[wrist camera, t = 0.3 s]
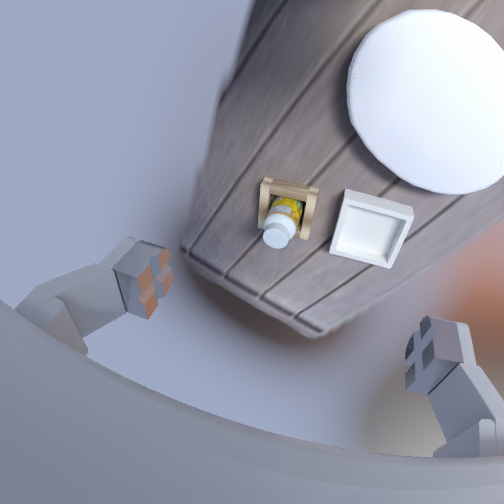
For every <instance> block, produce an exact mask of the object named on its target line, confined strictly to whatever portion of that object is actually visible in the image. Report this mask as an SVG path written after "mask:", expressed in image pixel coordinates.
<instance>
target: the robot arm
mask: <svg viewBox="0 0 504 504" xmlns="http://www.w3.org/2000/svg"><path fill="white" fill-rule="evenodd" d="M170 259H171V258H170V251H169V250H168V249H167V248H165V247H161V246H158V245H155V244H152V243H148V242H145V241H142V240H138V239H135V238H132V237H128V238H125V239H124V240H123V241H122V242H121V243H120V244H119V245H118V246H117V247H116V248H115V249H114V250H113V251H112V252H111V253H109V254H108V255H107V257H105V258H104V259H103V260H102V262H100V263H99V264H92V265H90V266H87V267H84V268H81V269H79V270H76V271H73V272H71V273H68V274H65V275H63V276H60V277H58V278H55V279H52V280H50V281H47V282H45V283H42V284H40V285H37V286H36V287H35V288H34V289H33V290H32V291H31V292H30V293H29V294H28V295H27V296H26V298H25V299H24V300H23V301H22V302H21V303H20V304H19V305H18V306H17V307H16V308H15V310H13V309H12V308H11V307H10V306H8V305H7V304H6V303H4V302H3V301H2V300H0V504H504V402H503V400H502V399H501V397H500V395H499V394H498V392H497V391H496V389H495V388H494V386H493V385H492V384H491V382H490V380H489V379H488V378H487V376H486V375H485V373H484V372H483V370H482V369H481V367H480V366H476V361H475V356H474V350H473V345H472V340H471V336H470V332H469V327H468V326H467V324H464V323H460V322H455V321H449V320H445V319H440V318H435V317H431V316H426V317H424V318H423V320H422V321H421V322H420V330H418V331H416V332H414V333H413V334H412V337H411V338H410V339H409V342H408V344H407V347H406V353H405V362H406V363H407V365H408V366H409V369H408V371H407V372H406V373H405V391H408V392H413V393H419V394H424V395H428V396H427V397H428V399H429V402H430V404H431V406H432V408H433V410H434V412H435V415H436V417H437V419H438V422H439V424H440V426H441V429H442V431H443V434H444V436H445V438H446V441H447V443H446V444H444V445H443V446H441V447H439V448H438V449H437V450H435V451H434V452H433V458H430V457H411V456H399V455H388V454H379V453H371V452H364V451H357V450H350V449H344V448H338V447H333V446H327V445H322V444H317V443H313V442H308V441H303V440H299V439H295V438H291V437H286V436H283V435H278V434H275V433H271V432H267V431H264V430H261V429H257V428H254V427H250V426H247V425H244V424H241V423H237V422H234V421H231V420H228V419H225V418H222V417H219V416H216V415H214V414H211V413H208V412H205V411H203V410H200V409H197V408H195V407H192V406H189V405H187V404H184V403H182V402H179V401H177V400H174V399H172V398H169V397H167V396H165V395H163V394H160V393H158V392H156V391H153V390H151V389H149V388H147V387H145V386H142V385H140V384H138V383H136V382H134V381H132V380H130V379H128V378H125V377H124V376H122V375H120V374H118V373H116V372H114V371H112V370H110V369H108V368H106V367H104V366H102V365H101V364H99V363H97V362H95V361H93V360H91V359H90V358H88V357H86V355H87V353H88V348H87V346H86V344H85V343H84V341H83V339H82V338H83V337H85V336H87V335H89V334H90V333H92V332H94V331H96V330H97V329H99V328H101V327H103V326H104V325H106V324H108V323H109V322H111V321H113V320H115V319H117V318H118V317H120V316H122V315H124V314H126V312H129V313H131V314H134V315H137V316H139V317H142V318H145V319H149V317H150V316H151V314H152V313H153V312H154V310H155V309H156V308H157V306H158V302H157V299H159V298H161V297H164V296H165V295H166V293H167V292H168V291H169V288H170V286H171V283H172V276H173V274H172V269H171V268H170V266H169V265H168V261H169V260H170Z"/></svg>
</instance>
